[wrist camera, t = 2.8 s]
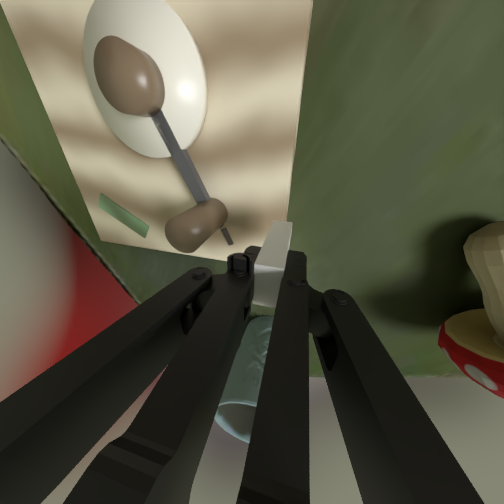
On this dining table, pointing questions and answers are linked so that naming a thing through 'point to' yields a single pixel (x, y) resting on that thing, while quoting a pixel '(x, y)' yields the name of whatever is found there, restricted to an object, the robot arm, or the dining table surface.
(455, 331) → the decorative mushroom
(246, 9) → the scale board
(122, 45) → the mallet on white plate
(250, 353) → the blue cup
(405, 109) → the dining table surface
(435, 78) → the dining table surface
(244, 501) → the robot arm
